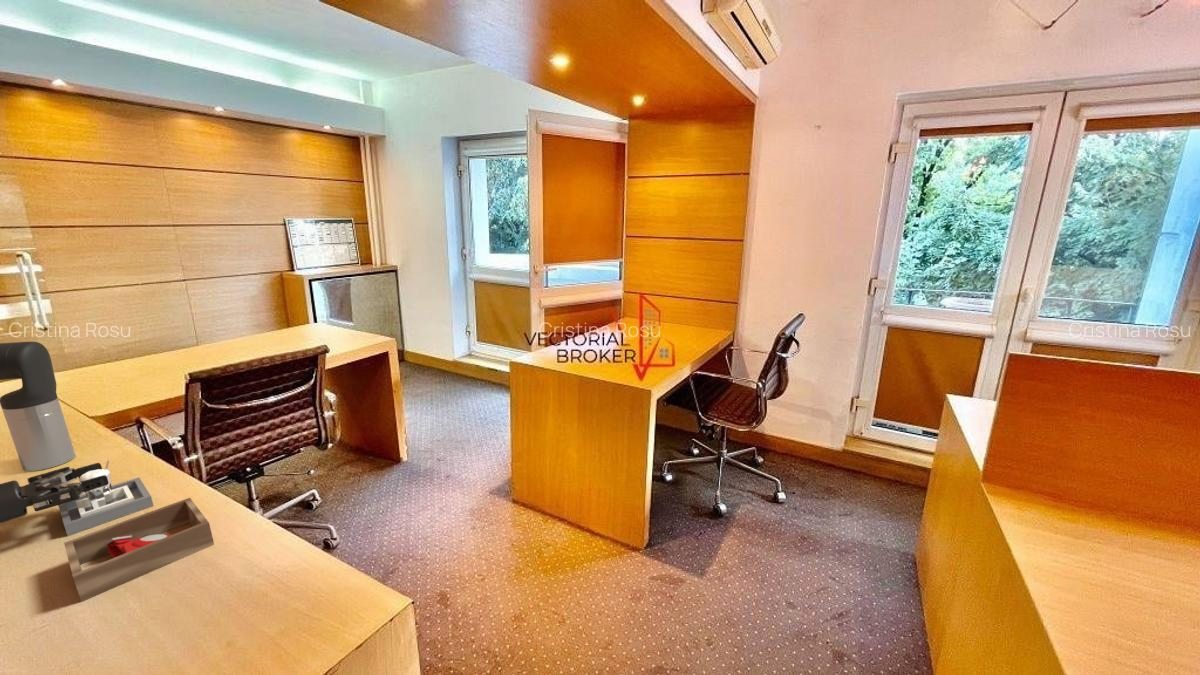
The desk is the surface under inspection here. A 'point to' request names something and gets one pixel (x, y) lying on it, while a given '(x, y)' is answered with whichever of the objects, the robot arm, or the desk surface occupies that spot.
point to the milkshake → (99, 489)
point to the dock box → (105, 507)
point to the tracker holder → (130, 543)
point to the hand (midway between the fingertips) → (104, 472)
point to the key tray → (143, 557)
